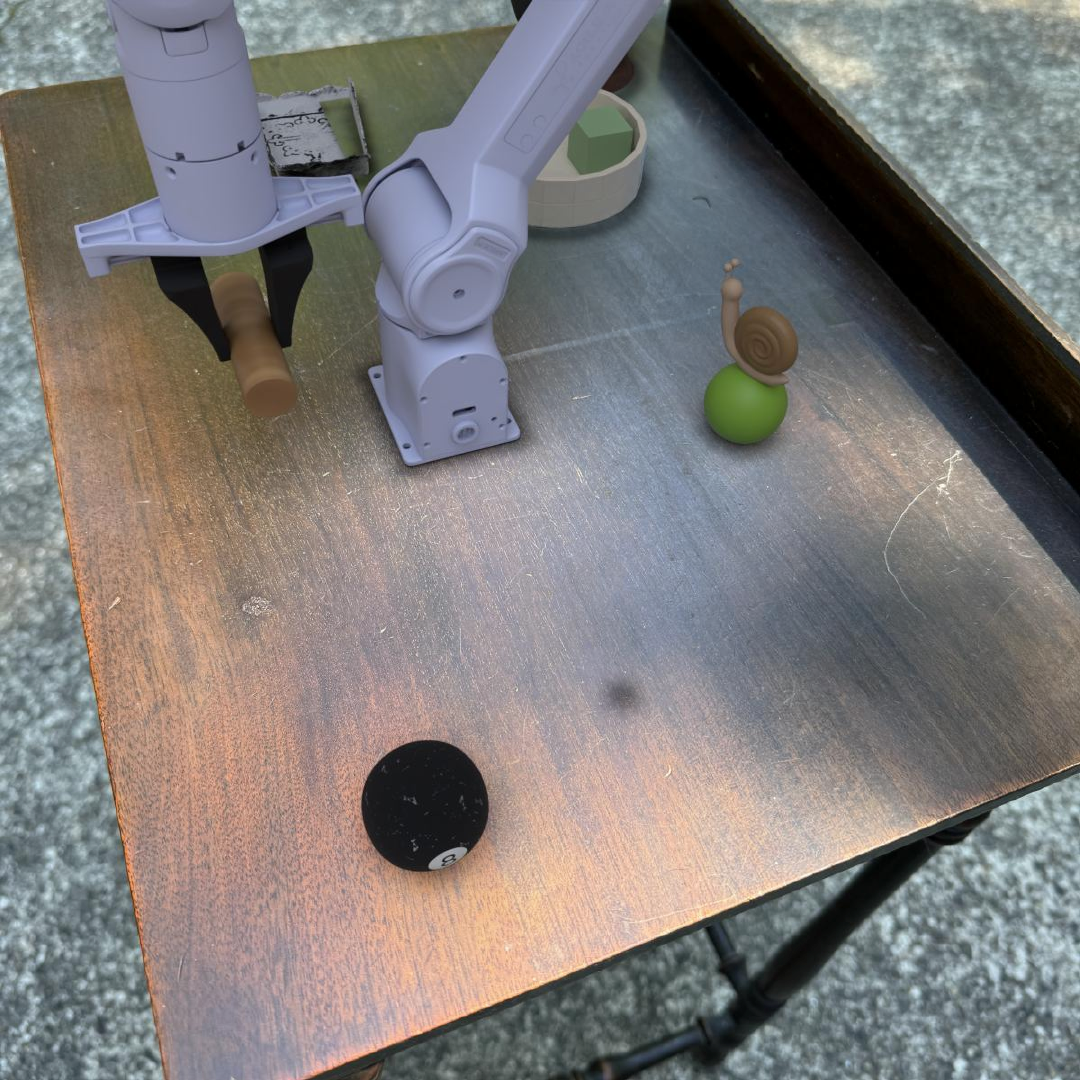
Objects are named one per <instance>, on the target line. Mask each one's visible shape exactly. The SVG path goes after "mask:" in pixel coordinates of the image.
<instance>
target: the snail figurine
mask: <svg viewBox="0 0 1080 1080" xmlns="http://www.w3.org/2000/svg"><path fill="white" fill-rule="evenodd" d="M739 265H740V261H739V259H738V258H732V260H730V262H726V263H725V264H724V265H723V269H722V270H723V271H724V272H725V273H724V279H723V281H722V283H721V285H720V294H721V305H720V325H721V326H720V327H721V336H722V339H723V344H724V347H725V349H726V351H727V353H728V355H729V356H730V357H731V358H732V359H733V361H734V362H732V363H730V364H727V365H726V366H724V367H722V368H721V369H719V370H718V371H717V372H716V373H715V374H714V375H713V377H712V378H711V379H710V381H709V382H708V384H707V386H706V389H705V392H704V397H703V410H704V415H705V418H706V420H707V423H708V424H709V426H710V428H711V429H712V430H713V431H714V432H715V433H716V434H717V435H718V436H720V437H721V438H723V440H726V441H728V442H730V443H733V444H734V443H735V444H741V445H748V444H754V443H758V442H761V441H763V440H765V439H767V438H768V437H771V435H773V434H774V433H775V432H776V431H777V430H778V429H779V428H780V427H781V425H782V423H783V421H784V419H785V417H786V415H787V410H788V405H789V403H788V402H789V398H788V392H787V388H786V384H788V383H789V382H790V381H791V380H790V377H788V375H787V374H784V373H785V372H787V371H789V370H790V369H791V368H792V367H793V366H794V364H795V363H796V361H797V358H798V354H799V340H798V336H797V333H796V331H795V328H794V327H793V324H792V323H790V321H789V319H787V317H785V316H784V315H783V314H782V313H781V312H780V311H778V310H776V309H774V308H771V307H768V306H761V305H759V306H753V307H751V308H749V309H747V310H745V311H744V312H742V313H741V315H740V299H741V297H742V296H743V294H744V287H743V284H742V282H741V281H740V280H739V279H737V278H736V277H733V275H734V274H733V273H734V269H735V268H738V267H739ZM728 273H730V277H727V274H728Z"/></svg>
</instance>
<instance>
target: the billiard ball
mask: <svg viewBox="0 0 1080 1080" xmlns="http://www.w3.org/2000/svg"><path fill="white" fill-rule="evenodd" d="M360 806H361V807H360V810H361V811H360V812H361V817H362V823H363V826H364V829H365V832H366V834H367V836H368V837H367V838H369V841H370V843H371V844H372V846H373V847H374V848H375V850H376V852H378V853H379V855H380V856H381V857H382V858H383V859H384V860H386V861H387V862H388V863H390V864H391V865H393V866H394V867H396V868H399V869H400V870H404V871H409V872H415V873H426V872H427V873H429V872H435V871H439V870H442V869H444V868H447V867H450V866H451V865H454V864H455V863H457V862H459V861H460V860H461V859H463V858H464V857H466V855H468V854H469V853H470V852H471V851H472V850H474V848H475V847H476V846H477V844H478V843H479V841H480V840H481V838H482V836H483V835H484V833H485V830H486V827H487V824H488V821H489V813H490V812H489V811H490V803H489V794H488V789H487V786H486V783H485V780H484V778H483V775H482V773H481V771H480V770H479V768H478V766H477V765H476V764H475V762H474V761H473V760H472V759H471V758H470V757H469V755H468V754H467V753H465V751H463V750H462V749H460V748H458V747H457V746H455V745H453V744H451V743H449V742H445V741H443V740H435V739H419V740H414V741H409V742H406V743H404V744H402V745H399V746H397V747H395V748H394V749H391V750H390V751H389V752H388V753H386V754H385V755H383V756H382V757H381V758H380V759H379V760H378V761H377V762H376V764H375V765H374V766H373V767H372V768H371V769H370V772H369V773H368V775H367V777H366V779H365V781H364V784H363V788H362V791H361V799H360Z"/></svg>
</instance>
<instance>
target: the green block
mask: <svg viewBox="0 0 1080 1080" xmlns="http://www.w3.org/2000/svg"><path fill="white" fill-rule="evenodd" d="M632 135H633V129H632V128H631V127H630V125H629V124H628V123H627V122H626V120H625V119H624V118H623V117H622V115H621V114H620V113H619V112H618V110H617V109H616V108H615V107H614V106H607V107H601V108H595V109H589V110H585V111H584V113H583V114H582V116H581V117H580V118H579V120H578V121H577V123H576V124H575V125H574V127H573V128H572V129H571V131H570V132H569V136H568V150H567V157H568V158H569V160H570V161H571V162H572V164H573V165H574V167H575V168H576V169H577V171H578V172H579V174H580V175H585V174H590V173H596V172H601V171H603V170H605V169H607V168H610V167H612V166H614V165H617V164H619V163H621V162H622V161H623V160H624V159H626V158H627V157H628V156H629V155H630V151H631V143H632Z"/></svg>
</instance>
